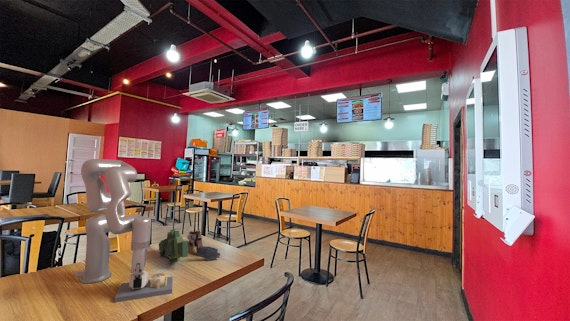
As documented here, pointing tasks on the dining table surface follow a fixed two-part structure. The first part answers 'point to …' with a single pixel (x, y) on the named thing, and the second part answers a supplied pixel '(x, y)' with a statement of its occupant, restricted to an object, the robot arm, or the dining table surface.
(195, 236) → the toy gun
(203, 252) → the stone
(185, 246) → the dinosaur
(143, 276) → the loose gear
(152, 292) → the gear board
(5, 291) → the dining table surface
